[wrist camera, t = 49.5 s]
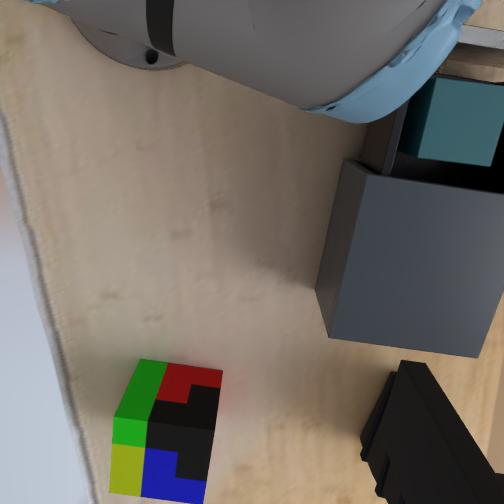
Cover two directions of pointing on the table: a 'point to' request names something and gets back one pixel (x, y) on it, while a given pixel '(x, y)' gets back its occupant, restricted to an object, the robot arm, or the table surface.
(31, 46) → the table surface
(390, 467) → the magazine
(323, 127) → the table surface
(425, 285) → the cabinet
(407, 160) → the drawer
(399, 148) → the block
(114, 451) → the puzzle toy
